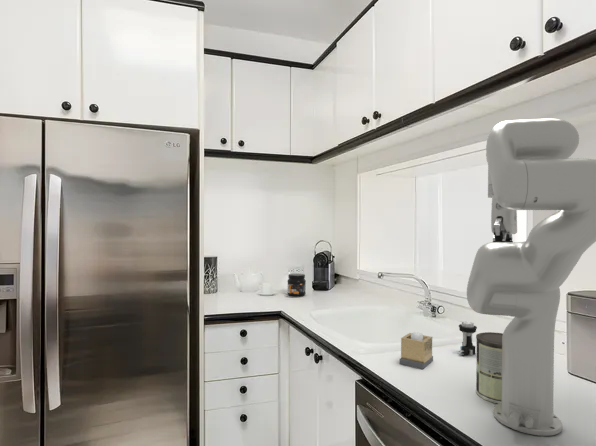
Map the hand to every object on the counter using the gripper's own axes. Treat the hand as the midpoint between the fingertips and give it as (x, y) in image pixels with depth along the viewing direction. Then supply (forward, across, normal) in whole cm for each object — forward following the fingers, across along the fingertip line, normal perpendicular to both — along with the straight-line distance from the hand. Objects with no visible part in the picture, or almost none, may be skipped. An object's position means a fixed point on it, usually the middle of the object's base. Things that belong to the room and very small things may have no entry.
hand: (502, 256), depth 104 cm
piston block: (+33, 0, +23) cm, 40 cm away
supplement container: (+34, +64, +116) cm, 137 cm away
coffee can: (+34, -10, -1) cm, 35 cm away
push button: (+34, +17, +13) cm, 40 cm away
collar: (+32, 0, +23) cm, 39 cm away
